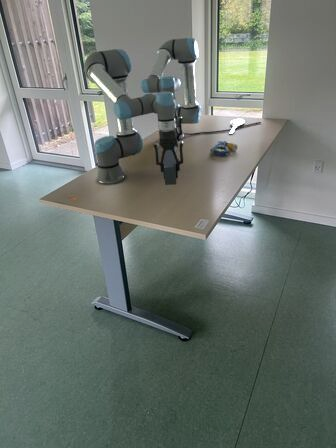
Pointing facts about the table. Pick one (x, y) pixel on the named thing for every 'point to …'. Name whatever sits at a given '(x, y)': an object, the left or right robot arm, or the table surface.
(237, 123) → the spoon
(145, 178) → the table surface
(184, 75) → the right robot arm
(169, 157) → the bar
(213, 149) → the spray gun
